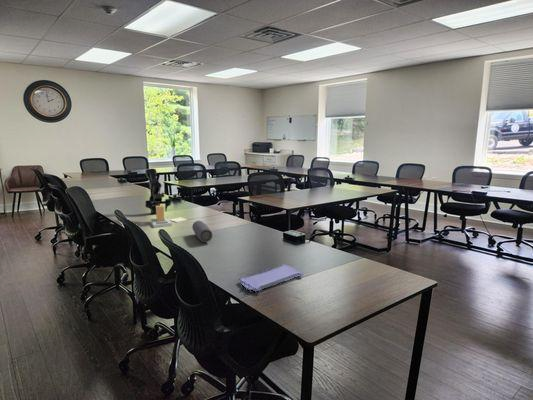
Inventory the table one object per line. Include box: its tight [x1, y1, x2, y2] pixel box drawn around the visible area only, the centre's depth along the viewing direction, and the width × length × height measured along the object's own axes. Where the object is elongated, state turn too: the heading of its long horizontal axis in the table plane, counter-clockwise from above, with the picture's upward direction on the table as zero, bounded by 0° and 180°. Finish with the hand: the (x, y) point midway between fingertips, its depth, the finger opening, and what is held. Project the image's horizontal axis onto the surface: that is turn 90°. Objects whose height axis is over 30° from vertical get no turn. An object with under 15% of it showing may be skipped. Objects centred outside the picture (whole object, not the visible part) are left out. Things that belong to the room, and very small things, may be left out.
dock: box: [150, 217, 173, 228], centre depth 252 cm, size 18×13×2 cm
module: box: [155, 204, 165, 222], centre depth 253 cm, size 5×5×13 cm
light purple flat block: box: [238, 263, 304, 292], centre depth 156 cm, size 30×4×15 cm
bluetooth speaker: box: [191, 220, 213, 243], centre depth 216 cm, size 23×9×10 cm, turn 23°
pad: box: [169, 216, 188, 223], centre depth 263 cm, size 10×10×1 cm
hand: (159, 212), depth 253 cm, fingers open, 9 cm apart
